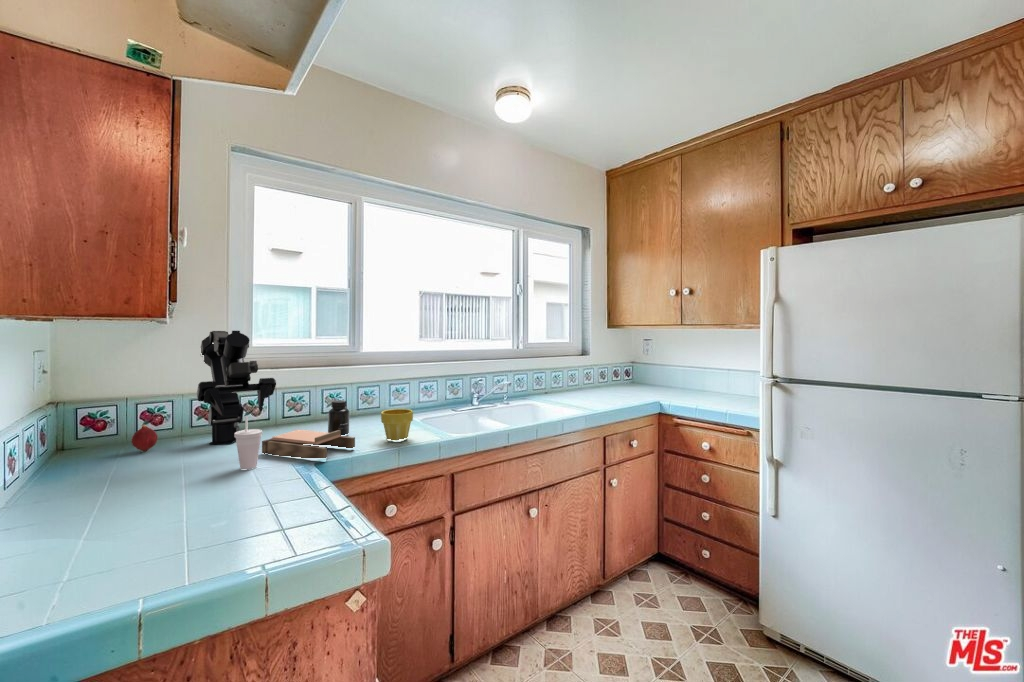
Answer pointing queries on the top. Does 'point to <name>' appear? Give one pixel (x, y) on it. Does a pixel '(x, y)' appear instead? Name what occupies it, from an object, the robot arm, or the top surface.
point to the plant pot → (397, 423)
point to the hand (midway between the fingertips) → (242, 412)
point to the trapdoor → (307, 437)
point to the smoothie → (248, 446)
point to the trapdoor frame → (304, 447)
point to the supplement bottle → (338, 417)
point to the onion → (144, 438)
